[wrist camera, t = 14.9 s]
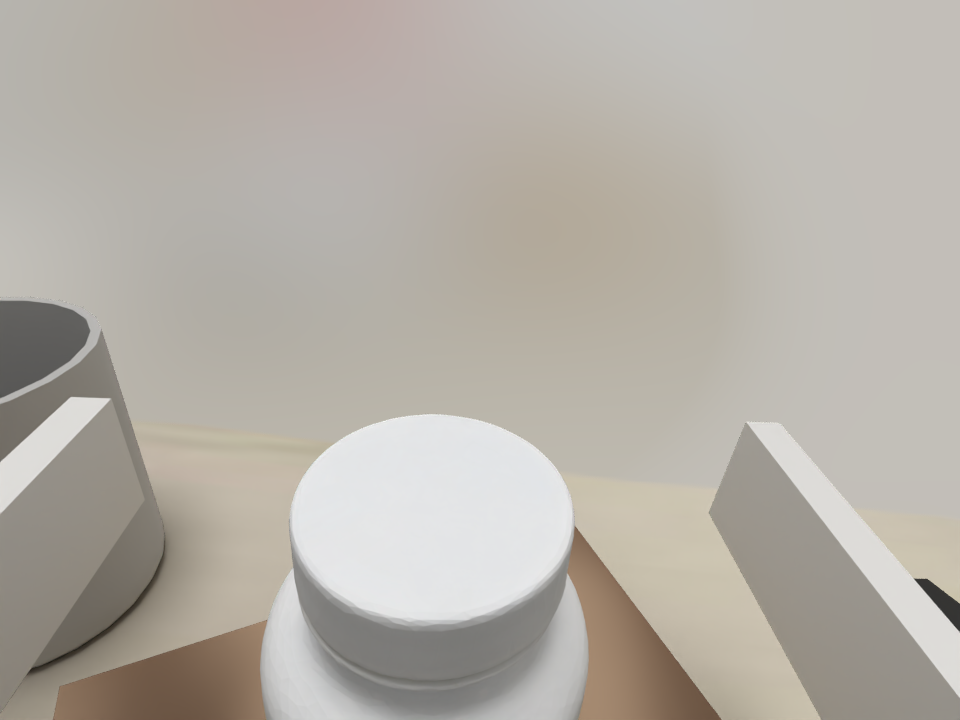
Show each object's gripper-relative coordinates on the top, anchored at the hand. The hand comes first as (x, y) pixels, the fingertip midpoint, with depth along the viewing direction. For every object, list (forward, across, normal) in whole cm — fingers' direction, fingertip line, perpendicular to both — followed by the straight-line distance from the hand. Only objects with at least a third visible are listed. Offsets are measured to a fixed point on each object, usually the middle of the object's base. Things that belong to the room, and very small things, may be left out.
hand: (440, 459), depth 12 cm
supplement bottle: (-3, 0, -8) cm, 8 cm away
